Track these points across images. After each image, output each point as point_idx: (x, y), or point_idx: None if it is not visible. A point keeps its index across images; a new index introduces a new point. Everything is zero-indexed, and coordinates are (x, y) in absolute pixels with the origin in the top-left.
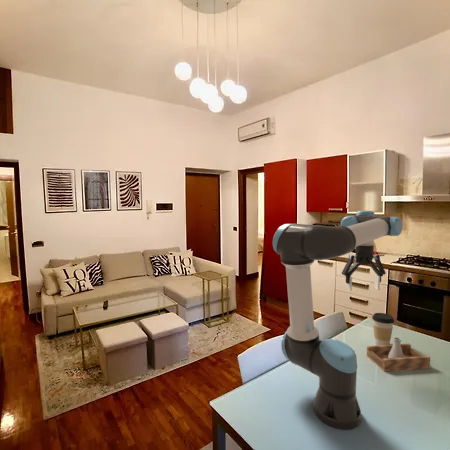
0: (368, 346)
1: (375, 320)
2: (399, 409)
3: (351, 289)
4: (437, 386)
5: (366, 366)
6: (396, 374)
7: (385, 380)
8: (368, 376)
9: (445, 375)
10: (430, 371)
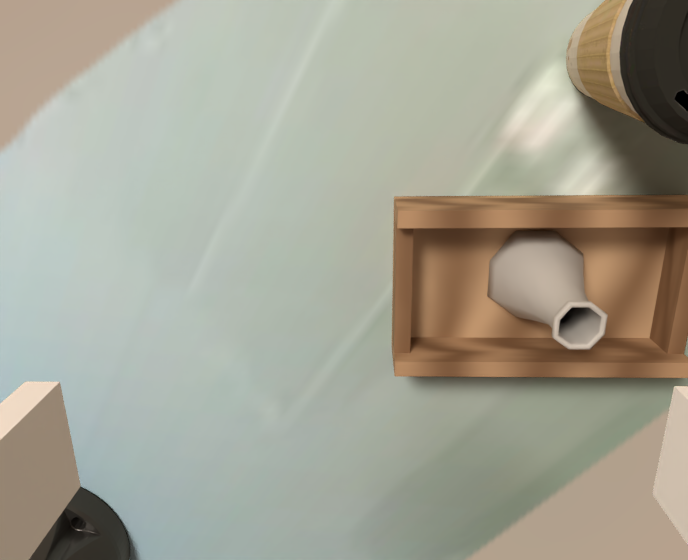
0: (404, 216)
1: (621, 63)
2: (285, 552)
3: (58, 509)
4: (549, 467)
5: (328, 294)
6: None
7: (349, 407)
8: (287, 372)
9: None
10: None
